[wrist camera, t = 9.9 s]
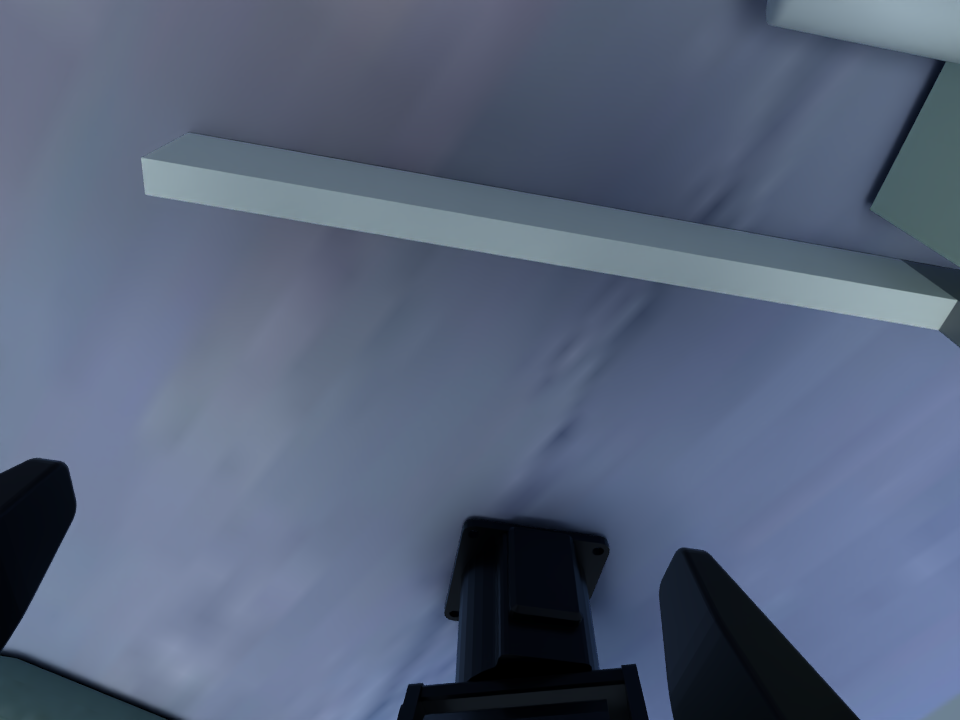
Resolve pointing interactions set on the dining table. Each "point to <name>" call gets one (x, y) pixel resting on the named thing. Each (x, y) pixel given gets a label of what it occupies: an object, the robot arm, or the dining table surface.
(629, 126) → the dining table surface
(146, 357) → the dining table surface
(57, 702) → the tea set
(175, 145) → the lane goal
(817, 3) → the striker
